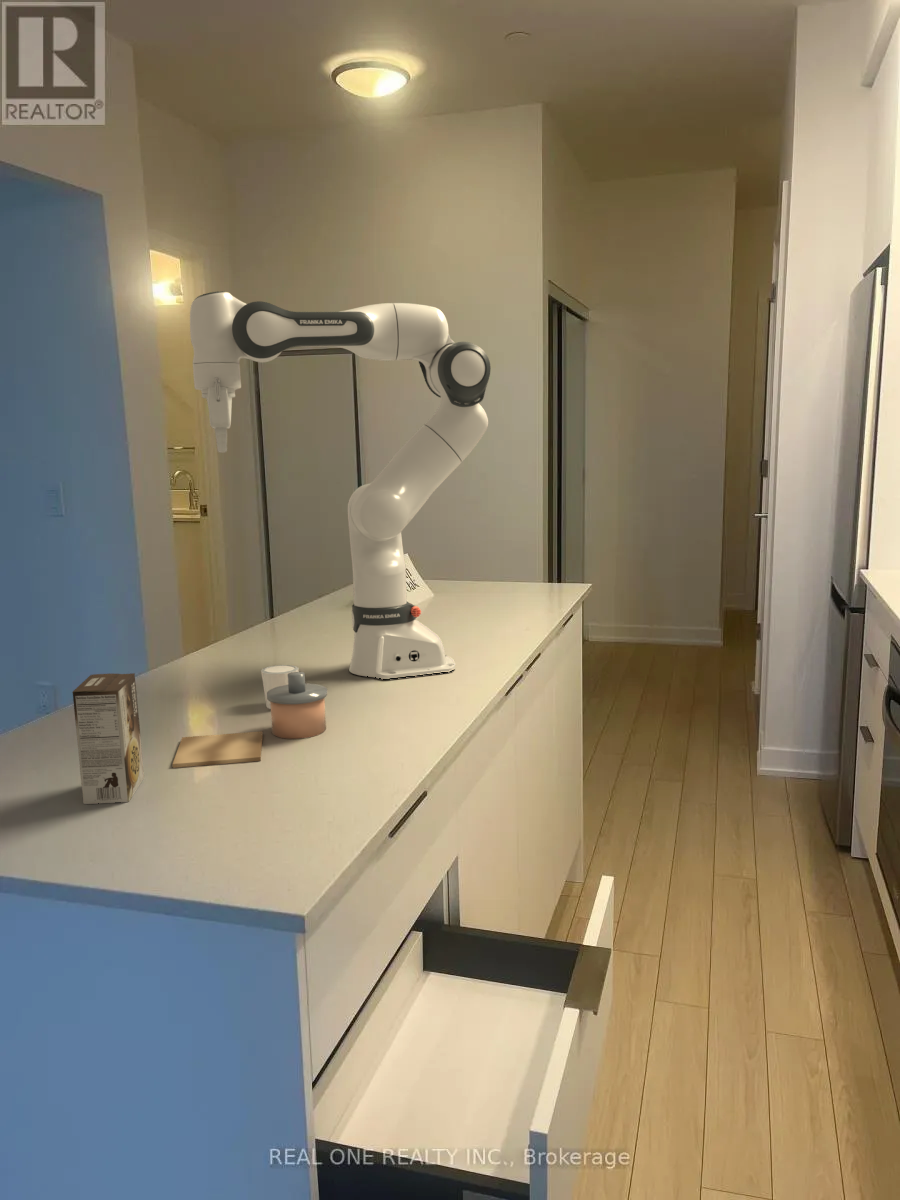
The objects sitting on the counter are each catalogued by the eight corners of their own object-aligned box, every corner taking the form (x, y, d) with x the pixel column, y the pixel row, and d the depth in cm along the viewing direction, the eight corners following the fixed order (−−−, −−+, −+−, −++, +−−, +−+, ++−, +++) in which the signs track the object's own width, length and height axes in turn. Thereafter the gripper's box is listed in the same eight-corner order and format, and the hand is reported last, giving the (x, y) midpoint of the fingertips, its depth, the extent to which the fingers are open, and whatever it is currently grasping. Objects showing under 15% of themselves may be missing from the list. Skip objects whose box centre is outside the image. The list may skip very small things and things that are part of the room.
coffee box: (100, 781, 135) (90, 673, 132) (145, 778, 135) (136, 671, 132) (81, 805, 126) (70, 690, 123) (129, 802, 126) (119, 688, 123)
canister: (325, 720, 161) (323, 687, 160) (327, 736, 152) (325, 701, 151) (272, 724, 160) (270, 690, 159) (271, 740, 151) (269, 705, 150)
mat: (262, 734, 154) (262, 731, 154) (260, 760, 141) (260, 757, 141) (182, 740, 152) (182, 737, 152) (172, 767, 139) (172, 764, 139)
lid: (326, 686, 161) (325, 664, 160) (328, 701, 151) (327, 679, 150) (267, 690, 159) (266, 668, 158) (266, 706, 149) (264, 683, 149)
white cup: (307, 701, 173) (305, 665, 172) (289, 712, 167) (287, 674, 165) (274, 699, 175) (272, 663, 174) (255, 709, 169) (253, 672, 168)
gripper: (234, 375, 169) (239, 452, 172) (234, 382, 189) (238, 451, 191) (198, 376, 168) (204, 453, 170) (202, 383, 187) (207, 452, 190)
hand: (222, 452), depth 181 cm, fingers open, 8 cm apart
